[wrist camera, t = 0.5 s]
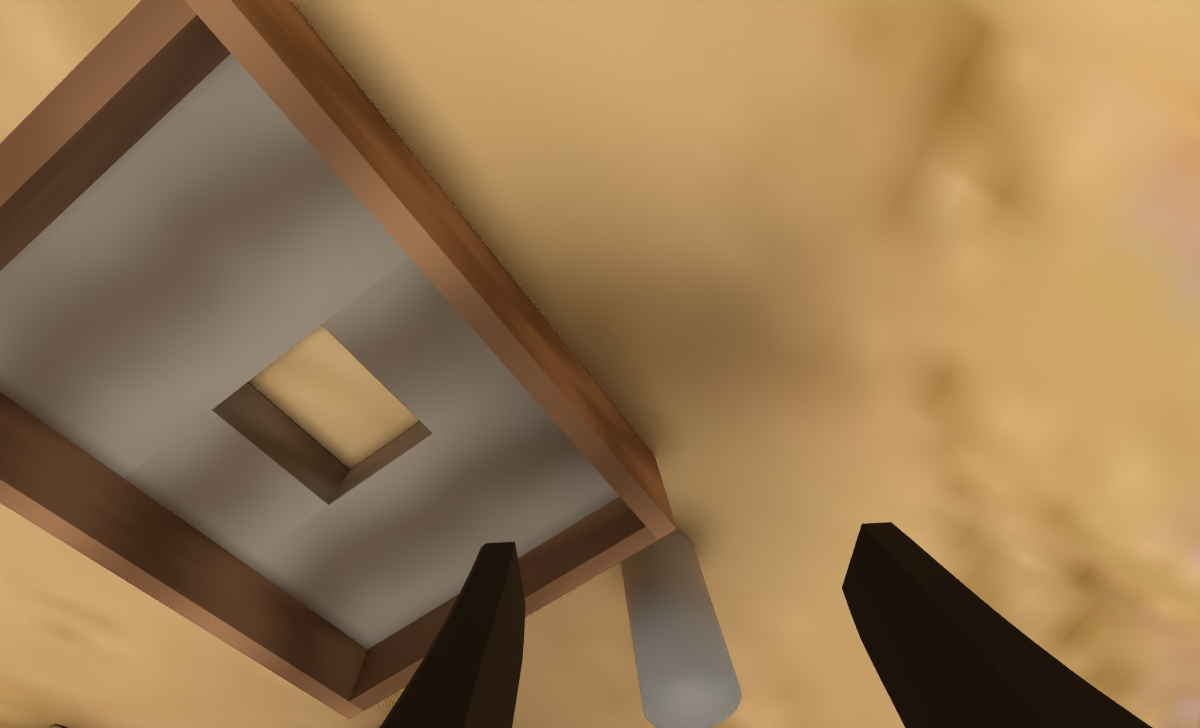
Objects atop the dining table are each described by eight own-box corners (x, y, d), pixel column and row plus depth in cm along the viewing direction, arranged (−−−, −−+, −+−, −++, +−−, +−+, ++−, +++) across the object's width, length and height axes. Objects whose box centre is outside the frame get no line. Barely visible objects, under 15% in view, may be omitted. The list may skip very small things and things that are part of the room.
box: (654, 457, 22) (676, 529, 18) (382, 624, 25) (349, 719, 21) (289, 0, 15) (189, -49, 11) (-41, 312, 18) (-220, 366, 14)
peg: (646, 594, 26) (675, 744, 20) (605, 552, 25) (623, 699, 18) (707, 560, 25) (758, 704, 19) (669, 515, 24) (710, 654, 18)
